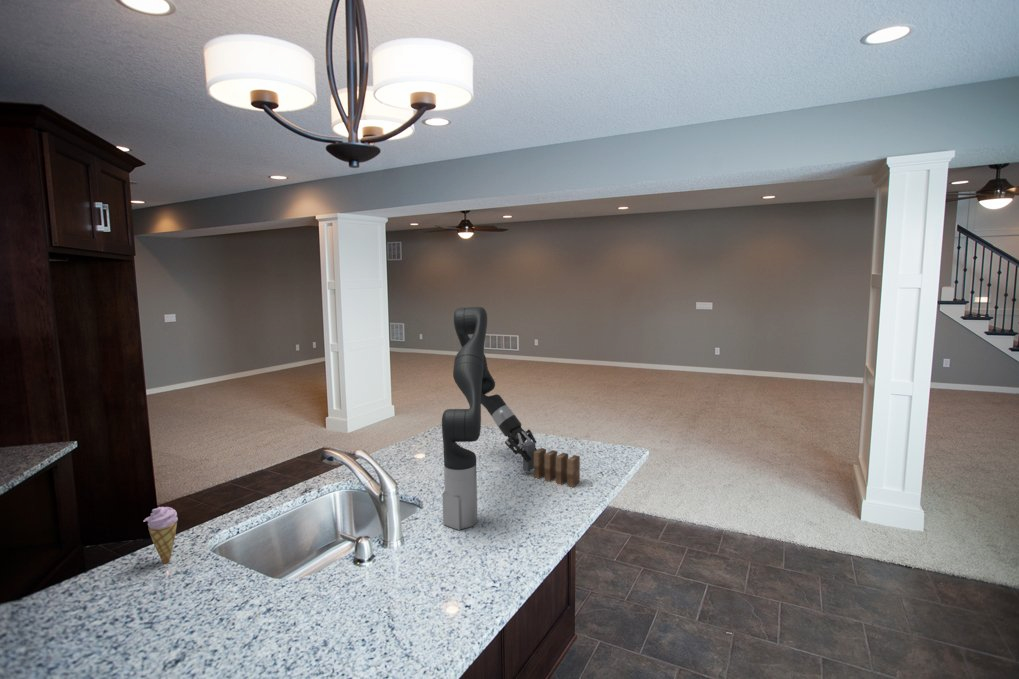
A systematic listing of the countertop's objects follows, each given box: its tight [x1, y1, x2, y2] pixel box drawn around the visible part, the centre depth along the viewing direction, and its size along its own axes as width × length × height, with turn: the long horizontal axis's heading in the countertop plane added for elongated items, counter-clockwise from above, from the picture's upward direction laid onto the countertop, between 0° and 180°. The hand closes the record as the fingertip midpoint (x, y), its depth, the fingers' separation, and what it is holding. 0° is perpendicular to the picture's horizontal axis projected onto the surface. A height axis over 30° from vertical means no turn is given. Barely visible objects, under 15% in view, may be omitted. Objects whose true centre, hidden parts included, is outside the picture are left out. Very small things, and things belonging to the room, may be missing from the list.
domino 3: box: [544, 449, 558, 483], centre depth 179 cm, size 5×2×10 cm, turn 144°
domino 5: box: [566, 454, 581, 489], centre depth 174 cm, size 5×2×10 cm, turn 144°
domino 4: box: [555, 452, 569, 485], centre depth 176 cm, size 5×2×10 cm, turn 144°
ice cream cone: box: [143, 506, 179, 564], centre depth 128 cm, size 7×6×15 cm
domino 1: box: [522, 440, 536, 473], centre depth 184 cm, size 5×2×10 cm, turn 144°
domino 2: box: [533, 447, 547, 480], centre depth 181 cm, size 5×2×10 cm, turn 144°
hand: (533, 458), depth 183 cm, fingers closed on domino 1, 5 cm apart
